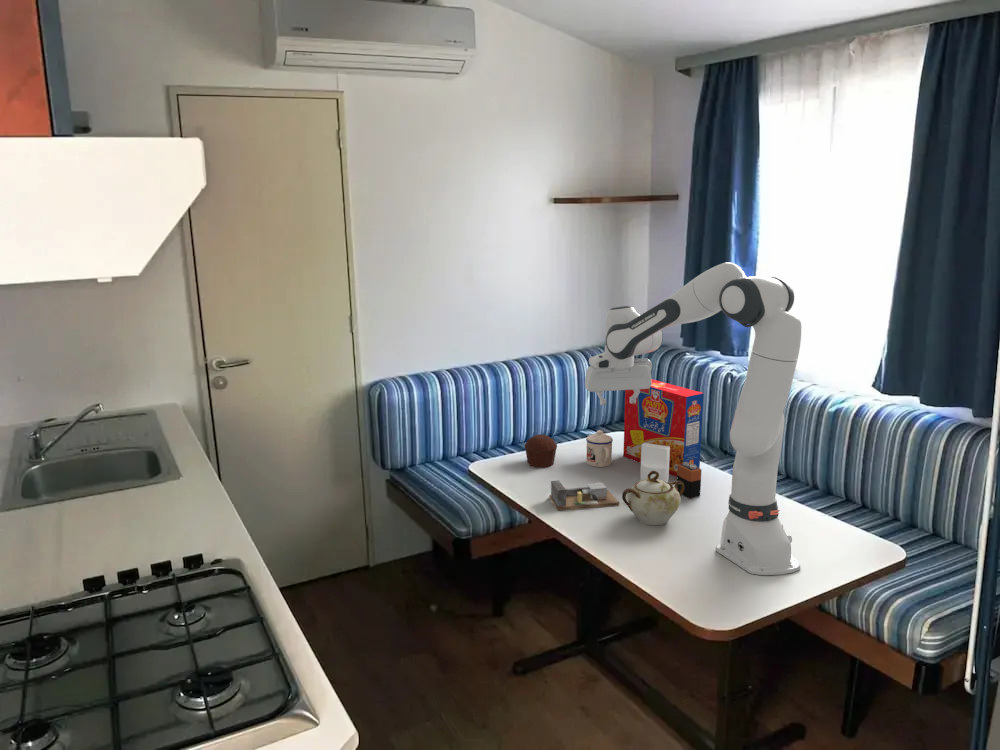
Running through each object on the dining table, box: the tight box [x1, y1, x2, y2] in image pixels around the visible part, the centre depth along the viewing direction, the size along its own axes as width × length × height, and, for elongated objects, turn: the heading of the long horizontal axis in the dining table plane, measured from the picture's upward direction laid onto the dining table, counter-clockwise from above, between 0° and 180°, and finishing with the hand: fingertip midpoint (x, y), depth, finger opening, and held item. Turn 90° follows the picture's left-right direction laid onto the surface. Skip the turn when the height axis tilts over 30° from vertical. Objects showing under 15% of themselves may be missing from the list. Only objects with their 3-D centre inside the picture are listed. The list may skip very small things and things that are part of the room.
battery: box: [676, 462, 702, 499], centre depth 250 cm, size 4×7×10 cm, turn 25°
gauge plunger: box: [582, 482, 608, 500], centre depth 245 cm, size 7×7×4 cm
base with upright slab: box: [639, 443, 670, 483], centre depth 261 cm, size 9×9×12 cm
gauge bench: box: [548, 480, 620, 511], centre depth 246 cm, size 19×10×6 cm, turn 101°
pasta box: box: [623, 379, 705, 478], centre depth 274 cm, size 28×8×28 cm, turn 35°
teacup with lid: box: [585, 429, 614, 468], centre depth 277 cm, size 12×9×12 cm
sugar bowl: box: [621, 471, 685, 526], centre depth 231 cm, size 20×15×15 cm
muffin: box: [524, 434, 558, 469], centre depth 279 cm, size 12×11×10 cm
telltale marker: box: [577, 492, 582, 503], centre depth 241 cm, size 1×2×3 cm, turn 11°
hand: (617, 404), depth 245 cm, fingers open, 8 cm apart
